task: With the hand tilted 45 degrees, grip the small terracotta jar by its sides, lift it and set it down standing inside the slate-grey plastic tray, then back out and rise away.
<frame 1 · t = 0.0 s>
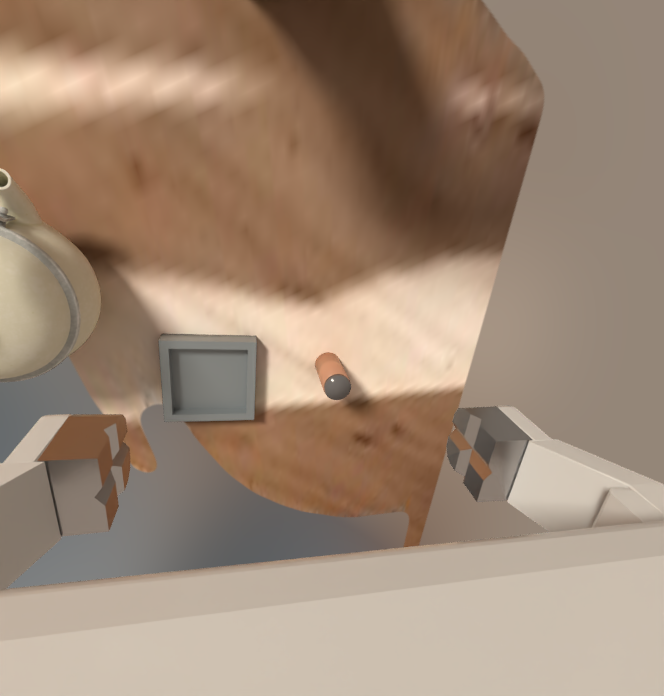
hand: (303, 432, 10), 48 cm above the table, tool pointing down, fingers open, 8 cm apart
tray: (210, 375, 60), on the table
terracotta jar: (327, 363, 64), on the table
kettle: (36, 268, 50), on the table
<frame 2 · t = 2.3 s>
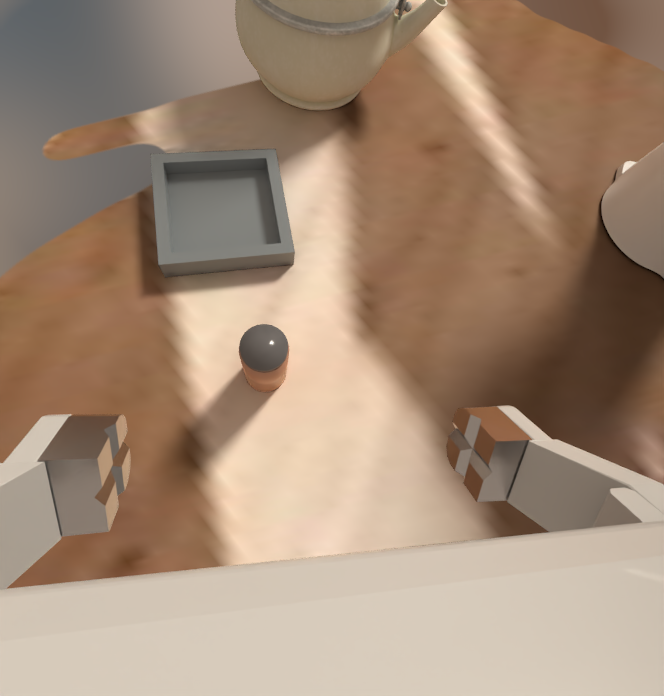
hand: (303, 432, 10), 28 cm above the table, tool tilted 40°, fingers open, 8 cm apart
tray: (224, 217, 43), on the table
terracotta jar: (265, 371, 39), on the table
kettle: (322, 74, 52), on the table
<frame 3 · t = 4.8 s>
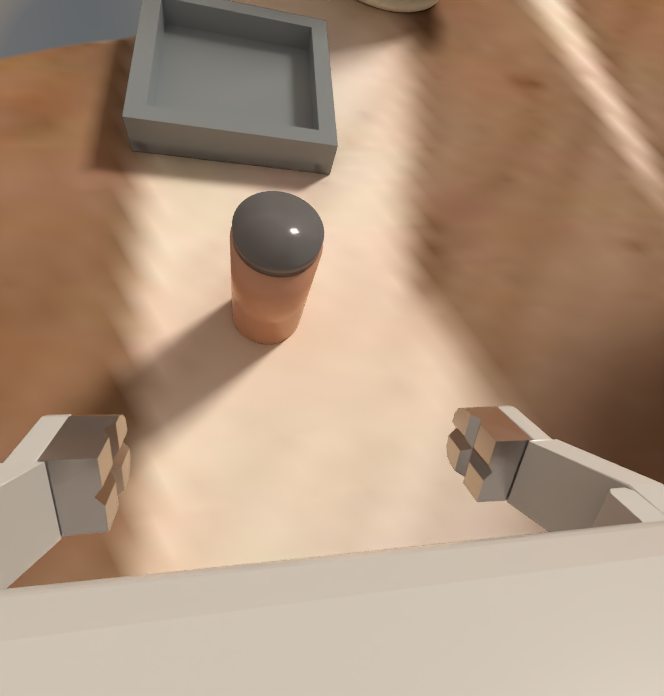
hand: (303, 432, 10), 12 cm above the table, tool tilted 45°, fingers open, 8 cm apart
tray: (238, 95, 30), on the table
terracotta jar: (266, 313, 24), on the table
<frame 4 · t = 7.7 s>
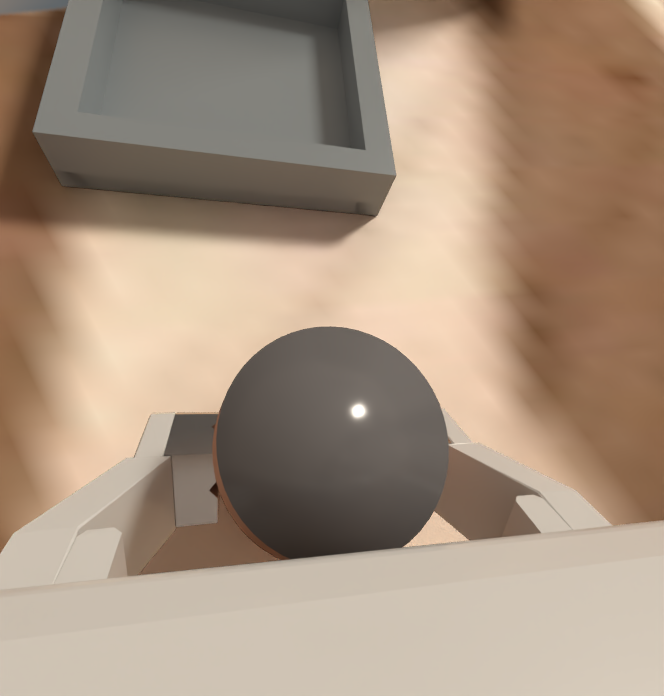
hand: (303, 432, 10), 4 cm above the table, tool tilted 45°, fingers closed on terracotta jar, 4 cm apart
tray: (236, 95, 20), on the table
terracotta jar: (285, 473, 14), on the table, touching gripper
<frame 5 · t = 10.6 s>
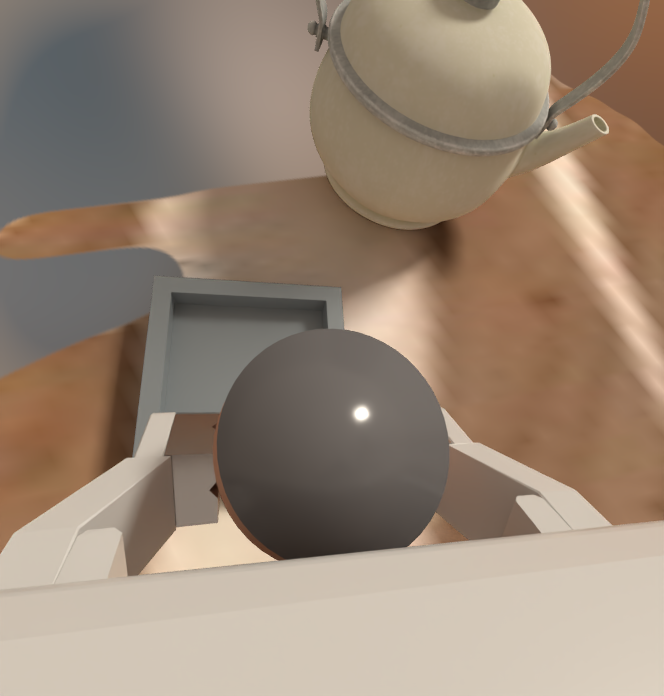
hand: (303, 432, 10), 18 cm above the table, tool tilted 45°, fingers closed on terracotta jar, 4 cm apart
tray: (249, 379, 28), on the table
terracotta jar: (285, 474, 14), point 14 cm above the table, touching gripper
kettle: (406, 180, 40), on the table
when the fingers open (6 cm above the table, at t = 13.9 s): terracotta jar drops 1 cm, resting on tray.
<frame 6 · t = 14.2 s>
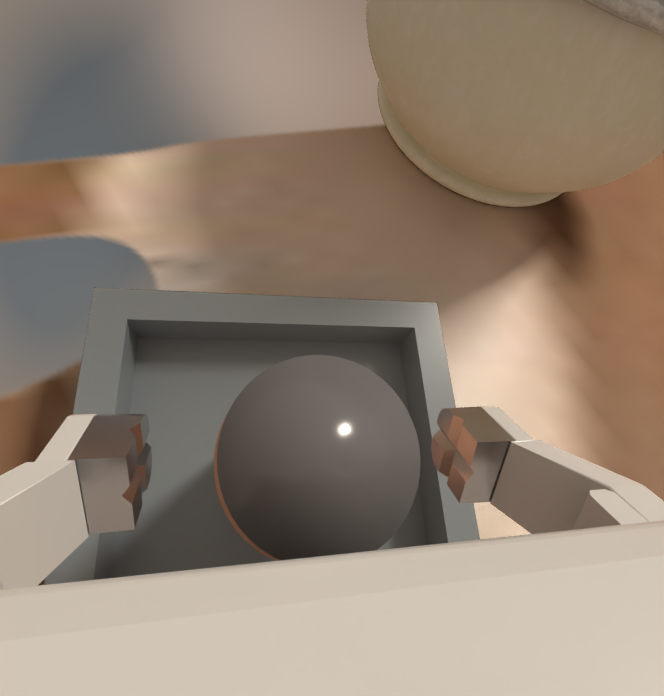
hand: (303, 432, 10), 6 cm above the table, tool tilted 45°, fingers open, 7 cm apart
tray: (279, 477, 15), on the table
terracotta jar: (282, 475, 15), point 1 cm above the table, touching tray
kettle: (497, 134, 26), on the table
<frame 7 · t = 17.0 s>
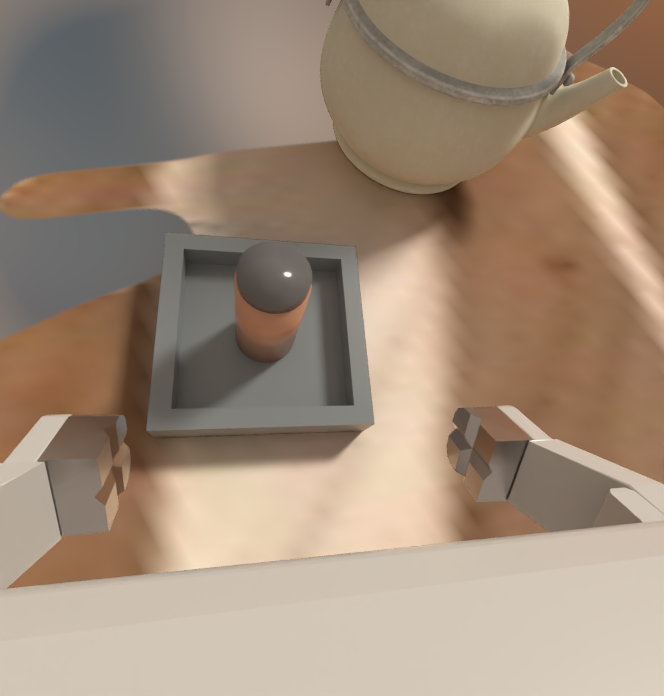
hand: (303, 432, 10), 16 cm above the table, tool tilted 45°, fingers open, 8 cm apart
tray: (264, 339, 28), on the table
terracotta jar: (265, 335, 27), point 1 cm above the table, touching tray
kettle: (417, 146, 39), on the table
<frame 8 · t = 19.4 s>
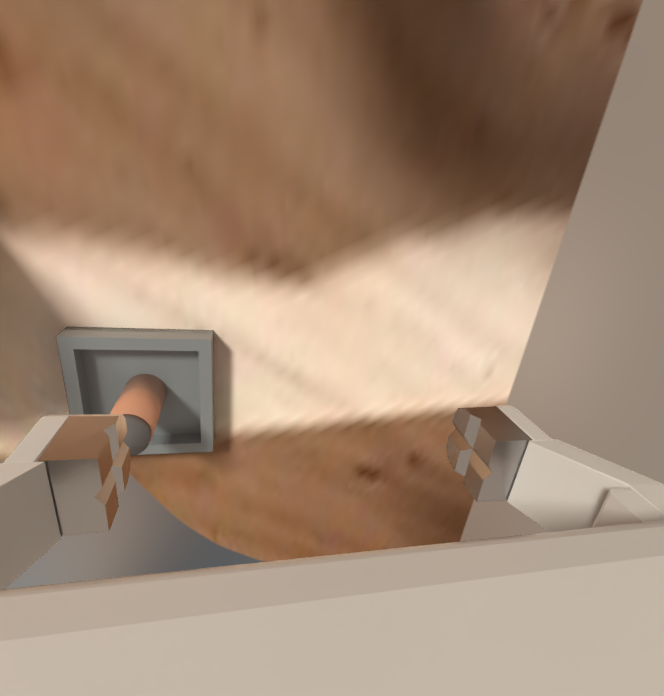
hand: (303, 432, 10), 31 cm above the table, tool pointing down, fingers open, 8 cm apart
tray: (148, 387, 41), on the table
terracotta jar: (146, 391, 41), point 1 cm above the table, touching tray
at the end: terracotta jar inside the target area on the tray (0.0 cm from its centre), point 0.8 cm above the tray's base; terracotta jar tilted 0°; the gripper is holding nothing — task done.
